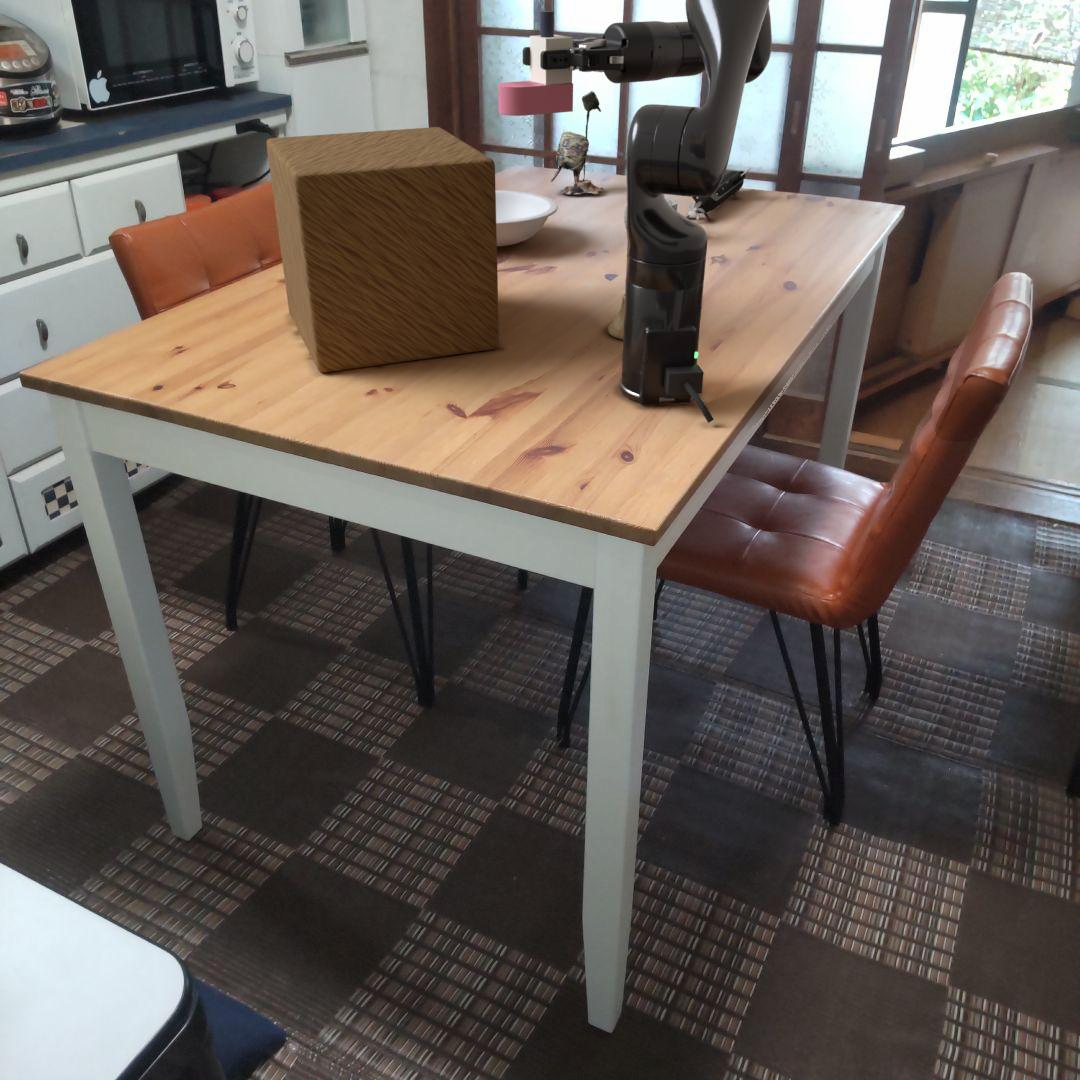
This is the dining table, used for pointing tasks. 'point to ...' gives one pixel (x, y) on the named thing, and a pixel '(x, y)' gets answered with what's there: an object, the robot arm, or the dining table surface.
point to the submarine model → (718, 194)
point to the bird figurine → (577, 152)
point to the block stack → (540, 78)
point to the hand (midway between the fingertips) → (533, 58)
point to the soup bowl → (520, 215)
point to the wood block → (387, 245)
